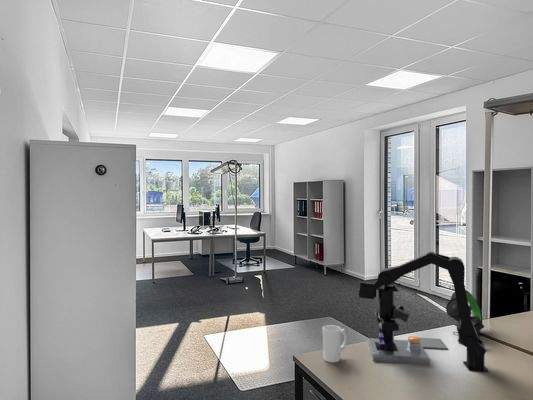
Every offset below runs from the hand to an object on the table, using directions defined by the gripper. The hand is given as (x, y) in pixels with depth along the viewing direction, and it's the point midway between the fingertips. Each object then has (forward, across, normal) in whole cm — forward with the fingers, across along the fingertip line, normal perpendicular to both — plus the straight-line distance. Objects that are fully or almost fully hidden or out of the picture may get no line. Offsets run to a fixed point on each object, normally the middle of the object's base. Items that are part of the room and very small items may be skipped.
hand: (386, 340), depth 149 cm
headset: (+5, +25, -40) cm, 47 cm away
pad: (+5, +12, -20) cm, 24 cm away
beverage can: (+5, 0, 0) cm, 5 cm away
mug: (+5, -8, +20) cm, 22 cm away
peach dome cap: (+1, 0, -10) cm, 11 cm away
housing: (+5, 0, -4) cm, 6 cm away
